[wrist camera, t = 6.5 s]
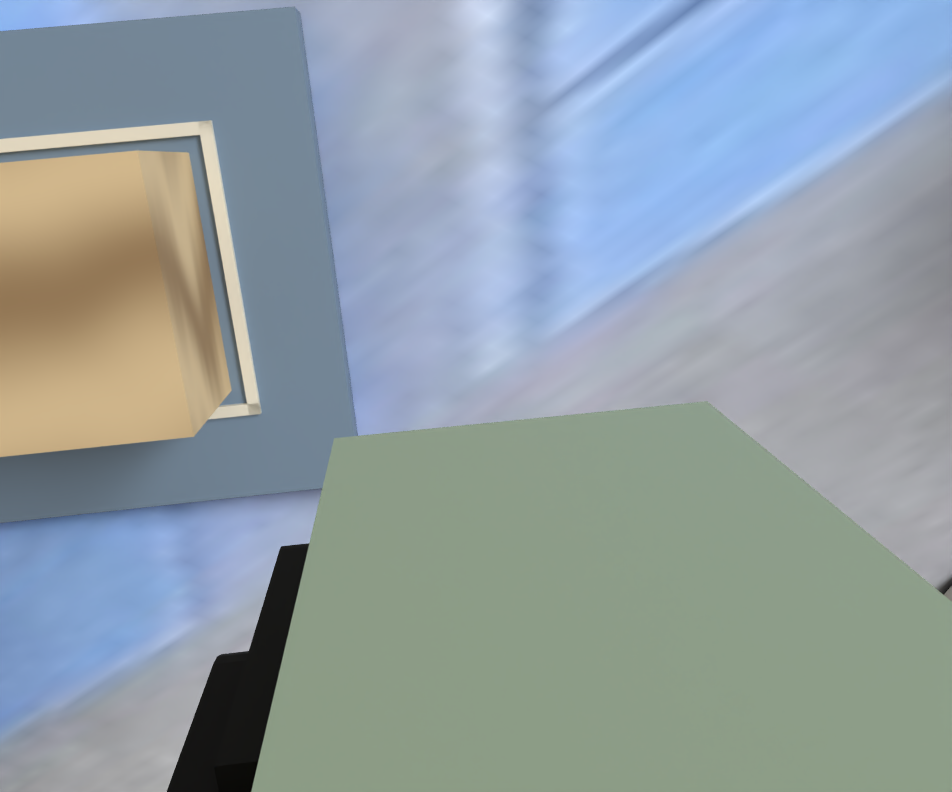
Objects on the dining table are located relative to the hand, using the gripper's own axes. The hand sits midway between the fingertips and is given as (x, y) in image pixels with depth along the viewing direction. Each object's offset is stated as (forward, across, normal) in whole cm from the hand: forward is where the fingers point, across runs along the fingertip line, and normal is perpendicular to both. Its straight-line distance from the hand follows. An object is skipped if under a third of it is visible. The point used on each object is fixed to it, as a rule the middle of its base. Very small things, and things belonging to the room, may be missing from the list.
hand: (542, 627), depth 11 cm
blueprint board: (+20, +12, -2) cm, 23 cm away
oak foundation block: (+19, +12, -2) cm, 23 cm away
